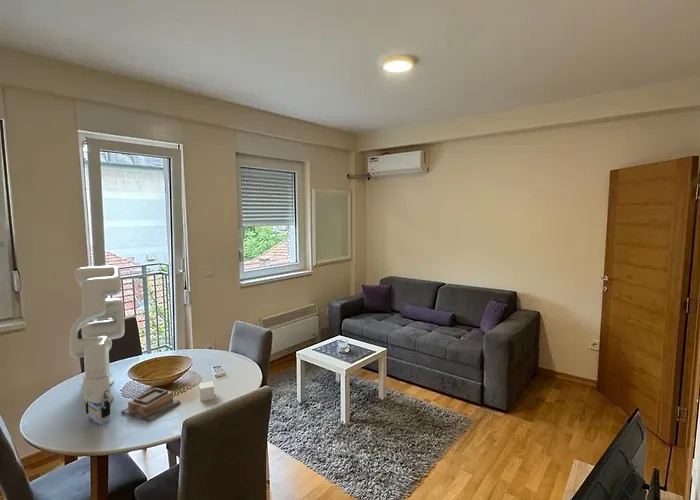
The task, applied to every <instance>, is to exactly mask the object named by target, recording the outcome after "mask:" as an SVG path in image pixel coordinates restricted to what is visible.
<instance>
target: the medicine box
mask: <svg viewBox="0 0 700 500" xmlns="http://www.w3.org/2000/svg"><path fill="white" fill-rule="evenodd" d="M103 400H104V399H103ZM106 403H107V402H106V401H104V404H106ZM102 408H103V407H102V405H101V403H99V404H97V403H93V402H89V401H88V415H87V416H88V421H89V422H92V423H94V424H96V425H98V426H101V425H103V424H105V423H108V422H110V421H111V414H110V415H108V416H107V417H105V418H102Z"/></svg>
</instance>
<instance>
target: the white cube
mask: <svg viewBox="0 0 700 500" xmlns="http://www.w3.org/2000/svg"><path fill="white" fill-rule="evenodd" d="M198 388H199V389H198V391H199V392H198V393H199V395H198V396H199V400H200V402H203V401H209V400H214V399H215V385H214V381H212V380H211V381H206V382H200V383H199V385H198Z"/></svg>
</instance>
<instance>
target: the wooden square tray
mask: <svg viewBox="0 0 700 500" xmlns="http://www.w3.org/2000/svg"><path fill="white" fill-rule="evenodd" d="M173 393H174V391H169V390H167V389H163V388H159V387H154V388H153V389H150V390H148V391H147V392H144V393H142V394H141V395H139V396H136V397H135V398H133V399H132V400H130V401H128V402H127V403H128V407H126V408H125V409H123V410H121V411H120V413H121V415H125V416H129V417H132V418H136V419H140V420H141V421H142V420H143V421H147V422H152V421H153V420H155V419H157V418H158V417H160V416H162V415H163V414H165V413H166V412H168V411H170V410H172V409H173V408H175V407H176V406H177V405H178V406H179V404H181V401H180V400H178V399H176V398H175V399H174V394H173Z"/></svg>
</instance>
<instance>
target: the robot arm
mask: <svg viewBox="0 0 700 500" xmlns="http://www.w3.org/2000/svg"><path fill="white" fill-rule="evenodd" d="M74 279H75V281H76V282H77V284H78V285H79V287H80V288H81V315H80V316H79V317H78V318H77V319H76V321H74V323H73V324H72V326H71V328H70V331H69V336H68V338H69V355H70V356H71V357H73V358H74V359H80V358H83V362H84V367H83V368H84V375H83V377H82V380H83V383H82V391H81V394H82V395H81V396H82V400H84V404H85V413H86V414H88V401H89V402H93V403H97V404H99V403H101V405H102V407H103V408H102V418H105V417H107V416H108V415H110V416H111V406H112V404H113V401H114V399H115V398H114V397H113V395H111V385H113V383H114V381H115V379H114V378H113V377H111V376H110V374H111V373H110V354H109V353H110V350H111V349H112V346H113V345H112V344H113V343H112V342H113V340H116V339H120V338H122V337H124V335H125V330H126V329H125V325H126V324H125V311H124V310H125V308H124V303H123V300H122V299H121V298H120V297H110V298H109V297H108V298H107V297H106V296H117V295H119V294H120V293H121V289H122V280H121V279H122V278H121V271H120V268H119V267H118V266H117V265H101V266H99V265H95V266H83V267H78V268H76V269H75V271H74ZM103 319H105V320H103ZM106 319H107V320H106ZM93 320H95V321H93ZM96 320H98V321H96ZM80 330H81V336H82V337H81V338H78V336H79V331H80ZM103 399H104V400H103ZM104 401H106V402H107V403H106V404H104Z"/></svg>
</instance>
